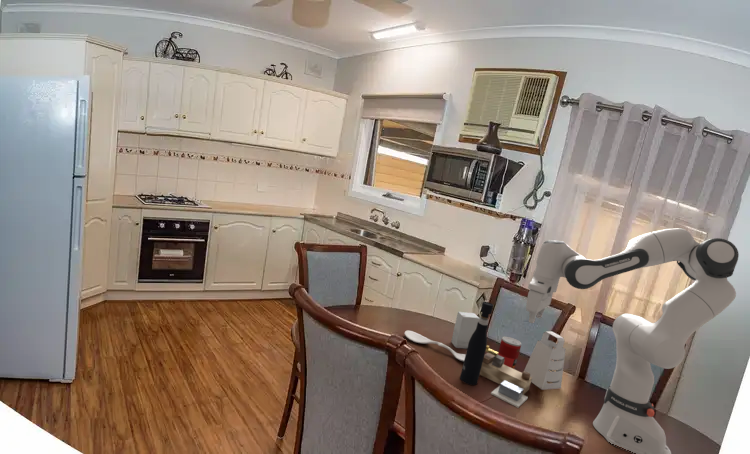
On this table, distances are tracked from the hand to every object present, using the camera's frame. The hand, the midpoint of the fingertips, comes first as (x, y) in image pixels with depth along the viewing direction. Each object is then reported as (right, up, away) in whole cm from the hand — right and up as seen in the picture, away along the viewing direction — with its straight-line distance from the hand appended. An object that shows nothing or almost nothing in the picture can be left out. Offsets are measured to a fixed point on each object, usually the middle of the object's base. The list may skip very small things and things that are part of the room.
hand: (535, 320), depth 158 cm
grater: (+7, -28, +14) cm, 32 cm away
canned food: (-4, -24, +23) cm, 33 cm away
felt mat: (-11, -26, -4) cm, 29 cm away
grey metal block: (-10, -26, -4) cm, 28 cm away
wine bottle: (-24, -23, +2) cm, 33 cm away
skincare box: (-20, -19, +33) cm, 43 cm away
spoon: (-32, -18, +24) cm, 44 cm away
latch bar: (-14, -15, +10) cm, 22 cm away
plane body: (-10, -25, +7) cm, 28 cm away
